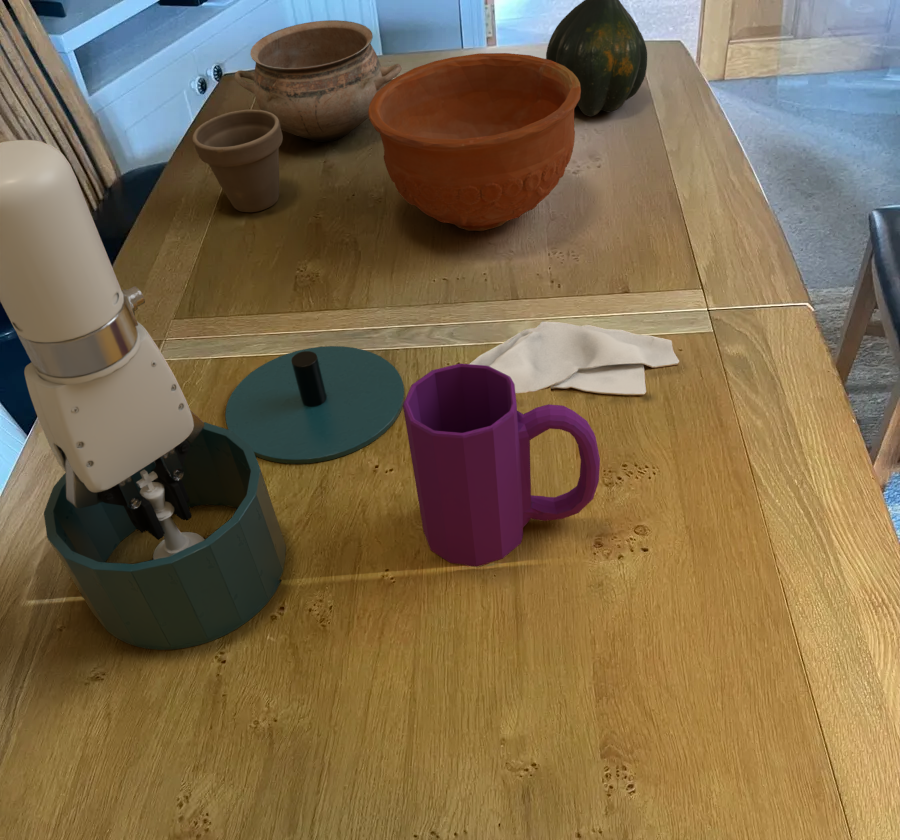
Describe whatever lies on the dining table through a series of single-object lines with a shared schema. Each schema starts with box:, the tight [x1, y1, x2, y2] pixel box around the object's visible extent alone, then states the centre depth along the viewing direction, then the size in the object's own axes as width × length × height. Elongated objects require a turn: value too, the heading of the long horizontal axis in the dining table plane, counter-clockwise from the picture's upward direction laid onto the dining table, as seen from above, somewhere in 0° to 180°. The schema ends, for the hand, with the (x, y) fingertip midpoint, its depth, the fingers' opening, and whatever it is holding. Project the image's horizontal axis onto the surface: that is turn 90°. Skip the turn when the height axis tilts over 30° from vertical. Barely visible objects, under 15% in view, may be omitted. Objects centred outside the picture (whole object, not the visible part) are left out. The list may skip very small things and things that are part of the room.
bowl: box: [368, 52, 581, 232], centre depth 115 cm, size 25×25×15 cm
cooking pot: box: [234, 19, 402, 143], centre depth 137 cm, size 25×19×12 cm
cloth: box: [469, 321, 680, 396], centre depth 98 cm, size 26×14×2 cm, turn 88°
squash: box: [545, 0, 648, 117], centre depth 135 cm, size 14×15×15 cm
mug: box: [402, 363, 601, 568], centre depth 78 cm, size 9×16×15 cm, turn 92°
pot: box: [43, 421, 287, 651], centre depth 80 cm, size 18×18×10 cm
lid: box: [224, 345, 405, 465], centre depth 95 cm, size 19×19×6 cm
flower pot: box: [192, 109, 284, 213], centre depth 125 cm, size 12×11×10 cm
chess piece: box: [136, 470, 206, 560], centre depth 79 cm, size 5×5×10 cm
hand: (165, 520), depth 79 cm, fingers closed on chess piece
